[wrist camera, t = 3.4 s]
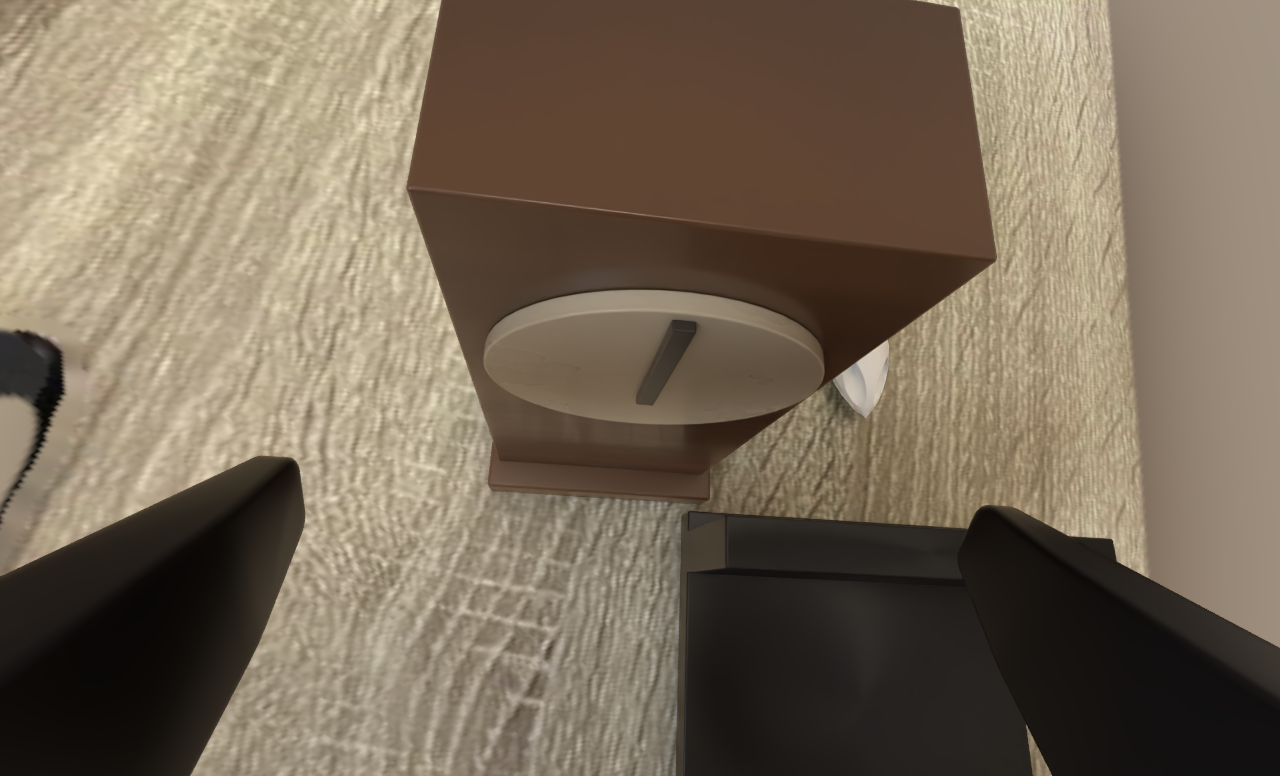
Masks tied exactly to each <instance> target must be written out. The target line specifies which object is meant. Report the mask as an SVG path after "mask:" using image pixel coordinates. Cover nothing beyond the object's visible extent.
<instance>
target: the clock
mask: <svg viewBox="0 0 1280 776" xmlns="http://www.w3.org/2000/svg"><path fill="white" fill-rule="evenodd" d="M406 188H407V191H408V194H409V197H410V200H411V203H412V206H413V209H414V212H415V215H416V217H417V220H418V223H419V226H420V229H421V232H422V235H423V238H424V241H425V244H426V247H427V250H428V253H429V255H430V258H431V261H432V264H433V267H434V270H435V273H436V276H437V279H438V282H439V285H440V288H441V290H442V293H443V296H444V299H445V302H446V305H447V308H448V311H449V314H450V317H451V320H452V323H453V326H454V328H455V331H456V334H457V337H458V340H459V343H460V346H461V349H462V352H463V355H464V358H465V361H466V363H467V366H468V369H469V372H470V375H471V378H472V381H473V384H474V387H475V390H476V393H477V396H478V399H479V401H480V404H481V407H482V410H483V413H484V416H485V419H486V422H487V425H488V428H489V431H490V434H491V436H492V439H493V442H492V451H491V459H490V467H489V476H488V486H489V488H490V489H491V490H492V491H505V492H520V493H536V494H551V495H567V496H582V497H598V498H613V499H629V500H644V501H660V502H675V503H691V504H702V503H704V502H706V501H707V500H709V498H710V468H711V467H713V466H714V465H715V464H717V463H718V462H719V461H721V460H722V459H724V458H725V457H726V456H728V455H729V454H730V453H732V452H733V451H735V450H736V449H737V448H739V447H740V446H742V445H743V444H744V443H746V442H747V441H748V440H750V439H751V438H753V437H754V436H755V435H757V434H758V433H759V432H761V431H762V430H764V429H765V428H766V427H768V426H769V425H771V424H772V423H773V422H775V421H776V420H777V419H779V418H780V417H782V416H783V415H784V414H786V413H787V412H788V411H790V410H791V409H793V408H794V407H795V406H797V405H798V404H800V403H801V402H802V401H804V400H805V399H806V398H808V397H809V396H811V395H812V394H813V393H815V392H816V391H818V390H819V389H820V388H822V387H823V386H824V385H826V384H827V383H829V382H830V381H831V380H833V379H834V378H835V377H837V376H838V375H840V374H841V373H842V372H844V371H845V370H847V369H848V368H849V367H851V366H852V365H853V364H855V363H856V362H858V361H859V360H860V359H862V358H863V357H864V356H866V355H867V354H869V353H870V352H871V351H873V350H874V349H876V348H877V347H878V346H880V345H881V344H882V343H884V342H885V341H887V340H888V339H889V338H891V337H892V336H893V335H895V334H896V333H898V332H899V331H900V330H902V329H903V328H905V327H906V326H907V325H909V324H910V323H911V322H913V321H914V320H916V319H917V318H918V317H920V316H921V315H922V314H924V313H925V312H927V311H928V310H929V309H931V308H932V307H934V306H935V305H936V304H938V303H939V302H940V301H942V300H943V299H945V298H946V297H947V296H949V295H950V294H951V293H953V292H954V291H956V290H957V289H958V288H960V287H961V286H963V285H964V284H965V283H967V282H968V281H969V280H971V279H972V278H974V277H975V276H976V275H978V274H979V273H980V272H982V271H983V270H985V269H986V268H987V267H989V266H990V265H992V264H993V263H994V262H995V261H996V259H997V255H996V248H995V242H994V235H993V229H992V222H991V215H990V209H989V202H988V195H987V189H986V182H985V175H984V169H983V162H982V156H981V149H980V142H979V136H978V129H977V122H976V116H975V109H974V102H973V96H972V89H971V83H970V76H969V69H968V63H967V56H966V49H965V43H964V36H963V29H962V23H961V16H960V10H959V9H958V8H957V7H952V6H946V5H940V4H934V3H929V2H923V1H917V0H441V5H440V11H439V16H438V21H437V27H436V32H435V37H434V43H433V48H432V53H431V59H430V64H429V69H428V75H427V80H426V85H425V91H424V96H423V101H422V107H421V112H420V117H419V123H418V128H417V133H416V139H415V144H414V149H413V155H412V160H411V165H410V171H409V176H408V181H407V187H406Z"/></svg>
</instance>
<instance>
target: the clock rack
mask: <svg viewBox="0 0 1280 776" xmlns="http://www.w3.org/2000/svg"><path fill="white" fill-rule="evenodd" d="M967 530H968V529H964V528H949V527H933V526H917V525H901V524H885V523H869V522H853V521H838V520H822V519H806V518H790V517H774V516H758V515H742V514H727V513H711V512H695V511H689V512H687V513H685V514H683V515H682V525H681V570H680V614H679V659H678V704H677V748H676V776H1033V774H1032V767H1031V759H1030V752H1029V744H1028V736H1027V729H1026V723H1025V721H1024V719H1023V717H1022V715H1021V713H1020V711H1019V709H1018V707H1017V705H1016V703H1015V701H1014V699H1013V697H1012V695H1011V693H1010V691H1009V689H1008V687H1007V685H1006V683H1005V681H1004V679H1003V677H1002V674H1001V672H1000V670H999V668H998V666H997V663H996V661H995V659H994V656H993V654H992V651H991V649H990V646H989V644H988V641H987V639H986V636H985V634H984V631H983V629H982V626H981V624H980V621H979V618H978V616H977V613H976V611H975V608H974V606H973V603H972V601H971V598H970V596H969V593H968V591H967V588H966V586H965V583H964V580H963V578H962V575H961V573H960V570H959V567H958V562H957V554H958V549H959V547H960V545H961V543H962V540H963V538H964V536H965V534H966V532H967ZM1069 537H1071V538H1073V539H1075V540H1077V541H1079V542H1080V543H1082V544H1084V545H1086V546H1088V547H1090V548H1092V549H1094V550H1096V551H1097V552H1099V553H1101V554H1103V555H1105V556H1107V557H1109V558H1111V559H1113V560H1115V561H1116V562H1117V560H1116V555H1115V549H1114V544H1113V540H1112V539H1105V538H1089V537H1073V536H1069Z"/></svg>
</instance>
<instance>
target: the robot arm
mask: <svg viewBox="0 0 1280 776" xmlns="http://www.w3.org/2000/svg"><path fill="white" fill-rule="evenodd" d="M304 523H305V506H304V499H303V491H302V484H301V476H300V470H299V466H298V464H297V462H296V461H295V460H294V459H292V458H289V457H275V456H257V457H254V458H252V459H250V460H248V461H246V462H243V463H241V464H239V465H237V466H235V467H233V468H231V469H229V470H226V471H224V472H222V473H220V474H218V475H216V476H214V477H212V478H209V479H207V480H205V481H203V482H201V483H199V484H197V485H195V486H192V487H190V488H188V489H186V490H184V491H182V492H180V493H177V494H175V495H173V496H171V497H169V498H167V499H165V500H163V501H160V502H158V503H156V504H154V505H152V506H150V507H148V508H146V509H143V510H141V511H139V512H137V513H135V514H133V515H131V516H128V517H126V518H124V519H122V520H120V521H118V522H116V523H114V524H111V525H109V526H107V527H105V528H103V529H101V530H99V531H97V532H94V533H92V534H90V535H88V536H86V537H84V538H82V539H79V540H77V541H75V542H73V543H71V544H69V545H67V546H65V547H62V548H60V549H58V550H56V551H54V552H52V553H50V554H48V555H45V556H43V557H41V558H39V559H37V560H35V561H33V562H30V563H28V564H26V565H24V566H22V567H20V568H18V569H16V570H13V571H11V572H9V573H7V574H5V575H3V576H1V577H0V776H190V775H191V773H192V771H193V769H194V768H195V766H196V764H197V762H198V760H199V758H200V756H201V754H202V752H203V750H204V748H205V747H206V745H207V743H208V741H209V739H210V737H211V735H212V733H213V731H214V729H215V727H216V726H217V724H218V722H219V720H220V718H221V716H222V714H223V712H224V710H225V708H226V706H227V705H228V703H229V701H230V699H231V697H232V695H233V693H234V691H235V689H236V687H237V685H238V684H239V682H240V680H241V678H242V676H243V674H244V672H245V670H246V668H247V666H248V664H249V662H250V660H251V658H252V656H253V654H254V652H255V650H256V648H257V646H258V644H259V642H260V639H261V637H262V634H263V632H264V630H265V627H266V625H267V622H268V620H269V617H270V614H271V612H272V609H273V607H274V604H275V601H276V599H277V596H278V594H279V591H280V589H281V586H282V583H283V581H284V578H285V576H286V573H287V570H288V568H289V565H290V563H291V560H292V557H293V555H294V552H295V550H296V547H297V545H298V542H299V539H300V537H301V534H302V531H303V528H304ZM957 562H958V567H959V570H960V573H961V575H962V578H963V580H964V583H965V586H966V588H967V591H968V593H969V596H970V598H971V601H972V603H973V606H974V608H975V611H976V613H977V616H978V618H979V621H980V624H981V626H982V629H983V631H984V634H985V636H986V639H987V641H988V644H989V646H990V649H991V651H992V654H993V656H994V659H995V661H996V663H997V666H998V668H999V670H1000V672H1001V674H1002V677H1003V679H1004V681H1005V683H1006V685H1007V687H1008V689H1009V691H1010V693H1011V695H1012V697H1013V699H1014V701H1015V703H1016V705H1017V707H1018V709H1019V711H1020V713H1021V715H1022V717H1023V719H1024V721H1025V723H1026V725H1027V726H1028V728H1029V730H1030V732H1031V734H1032V736H1033V738H1034V740H1035V742H1036V744H1037V746H1038V748H1039V750H1040V752H1041V754H1042V756H1043V758H1044V760H1045V762H1046V764H1047V766H1048V768H1049V770H1050V772H1051V774H1052V776H1280V648H1279V647H1277V646H1275V645H1273V644H1271V643H1270V642H1268V641H1265V640H1264V639H1262V638H1260V637H1258V636H1256V635H1254V634H1252V633H1251V632H1248V631H1247V630H1245V629H1243V628H1241V627H1239V626H1237V625H1235V624H1234V623H1232V622H1230V621H1228V620H1226V619H1224V618H1222V617H1220V616H1218V615H1216V614H1215V613H1213V612H1211V611H1209V610H1207V609H1205V608H1203V607H1201V606H1200V605H1198V604H1196V603H1194V602H1192V601H1190V600H1188V599H1186V598H1184V597H1183V596H1181V595H1179V594H1177V593H1175V592H1173V591H1171V590H1169V589H1167V588H1165V587H1164V586H1162V585H1160V584H1158V583H1156V582H1154V581H1152V580H1150V579H1149V578H1147V577H1145V576H1143V575H1141V574H1139V573H1137V572H1135V571H1133V570H1132V569H1130V568H1128V567H1126V566H1124V565H1122V564H1120V563H1118V562H1116V561H1115V560H1113V559H1111V558H1109V557H1107V556H1105V555H1103V554H1101V553H1099V552H1097V551H1096V550H1094V549H1092V548H1090V547H1088V546H1086V545H1084V544H1082V543H1080V542H1079V541H1077V540H1075V539H1073V538H1071V537H1069V536H1067V535H1065V534H1063V533H1062V532H1060V531H1058V530H1056V529H1054V528H1052V527H1050V526H1048V525H1046V524H1045V523H1043V522H1041V521H1039V520H1037V519H1035V518H1033V517H1031V516H1029V515H1028V514H1026V513H1024V512H1022V511H1020V510H1018V509H1016V508H1013V507H1009V506H994V505H986V506H983V507H981V508H980V509H978V510H977V512H976V513H975V515H974V517H973V519H972V521H971V523H970V526H969V528H968V530H967V532H966V534H965V536H964V538H963V540H962V543H961V545H960V547H959V549H958V554H957Z"/></svg>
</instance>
